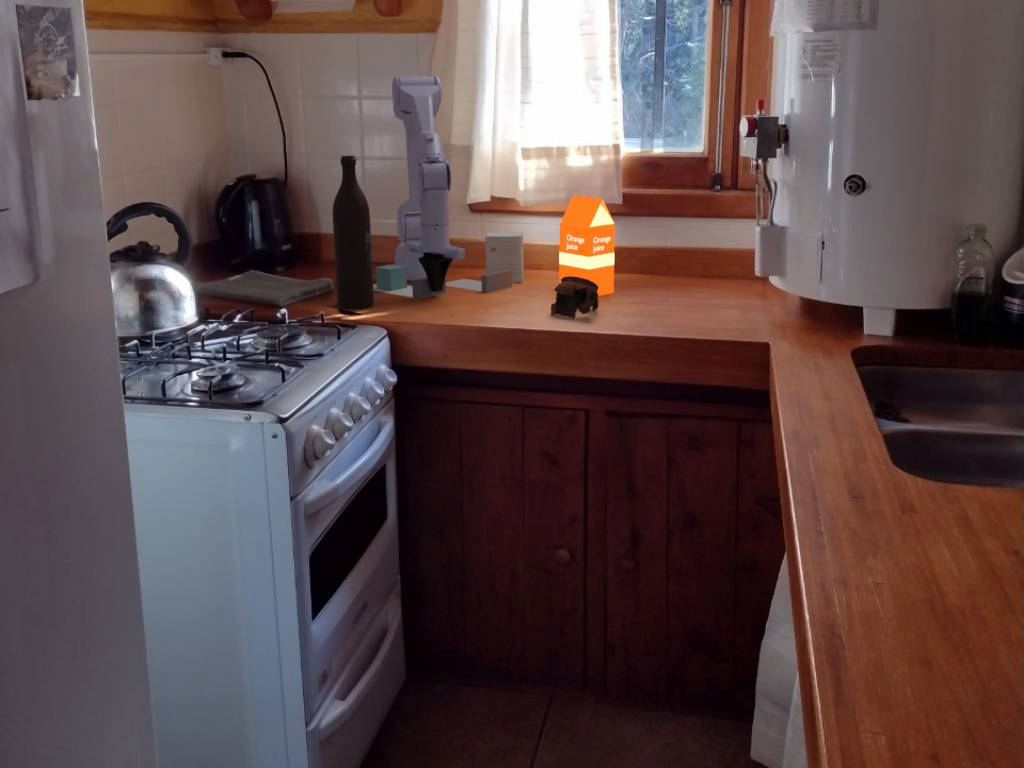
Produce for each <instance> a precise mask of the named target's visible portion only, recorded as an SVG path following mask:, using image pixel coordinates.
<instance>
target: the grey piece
mask: <svg viewBox="0 0 1024 768" xmlns="http://www.w3.org/2000/svg"><path fill="white" fill-rule="evenodd" d="M446 278H447V277H446V276H445V280H444V284H443V289H442V291H438V292H432V291H431V289H430V285H429V282H428V278H422V279H417V280H412V281H411V283H412V286H411V285H408V284H407V288H403V289H399V290H394V291H388V290H383V289H377V283H373V292H378V293H380V292H381V293H385V294H390V295H397V296H400V297H406V298H412V299H419V300H420V299H423V298H428V297H433V296H436V295H440V294H445V293H447V286H446V283H447V282H446Z"/></svg>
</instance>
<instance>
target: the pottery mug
mask: <svg viewBox="0 0 1024 768" xmlns="http://www.w3.org/2000/svg"><path fill="white" fill-rule="evenodd" d="M561 281H562V283H560V284H558V285H556V286H555V288H554V290H553V291H554V292H556V297H555V302H554V303H551V305H550V316H556V315H559V316H562V317H567V318H571V319H575V318H576V313H577V311H579V313H581V315H586V314H589V313H590V311H591V308H592V311H596V310H598V308H599V296H598V293H597V290H598V288H599V287H598V286H597V284H595V283H594V282H592V281H590V280H588V279H584V278H580V277H574V276H567V277H563V278H562V279H561Z"/></svg>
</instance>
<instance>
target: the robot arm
mask: <svg viewBox="0 0 1024 768" xmlns="http://www.w3.org/2000/svg"><path fill="white" fill-rule="evenodd" d="M442 91H443V90H442V81H441V80H440V78H439V77H438V75H433V76H394V77H393V79H392V82H391V94H392V107H393V108H392V109H393V113H394V117H395V118H397V119H399V120H401V121H402V124H403V127H404V130H405V143H406V144H405V145H406V161H407V162H406V164H407V180H408V196H409V197H408V198H407V199H406V200H404V202H402V203H401V204H400V205H399V206H398V209H397V219H396V225H397V226H396V227H397V228H396V229H397V230H396V231H397V237H398V240H399V241H400V243H399V244H398V246H397V247H396V250H395V252H394V260H395V261H394V263H395V264H394V265H399V266H405V267H406V272H407V281H410V282H412V280H417V279H422V278H428V282H429V285H430V289H431V291H432V292H438V291H442V289H443V284H444V280H445V277H446V276H447V273H448V271H449V268H450V266H451V264H452V262H453V260H457V261H459V260H464V259H466V249H465V248H462V247H458V246H456V245H451V243H450V218H449V217H450V213H449V210H450V209H449V192H450V191H451V187H452V172H451V167H450V163H449V161H448V158H447V157H445V153H444V147H443V141H442V138H441V136H440V134H438V133H437V132H435V124H434V123H435V121H434V120H435V119H434V118H435V117H437V114H438V112H439V110H440V107H441V103H442V98H443V97H442V94H443V93H442ZM408 212H416V213H408ZM418 212H419V213H418Z"/></svg>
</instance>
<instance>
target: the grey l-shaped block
mask: <svg viewBox="0 0 1024 768" xmlns="http://www.w3.org/2000/svg"><path fill="white" fill-rule="evenodd" d="M513 284H514V283H512V270H508V269H506V270H502V271H497V272H493V273H488V274H486V273H485V274H484V273H483V274H481V281H480V280H475V279H467V278H462V279H458V280H457V279H456V280H453V281H447V282H446V287H451V288H456V289H461V290H462V289H463V290H468V291H474V292H478V293H479V292H480V293H486V294H488V293H492V292H497V291H501V290H504V289H509V288H512V287H513Z"/></svg>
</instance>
